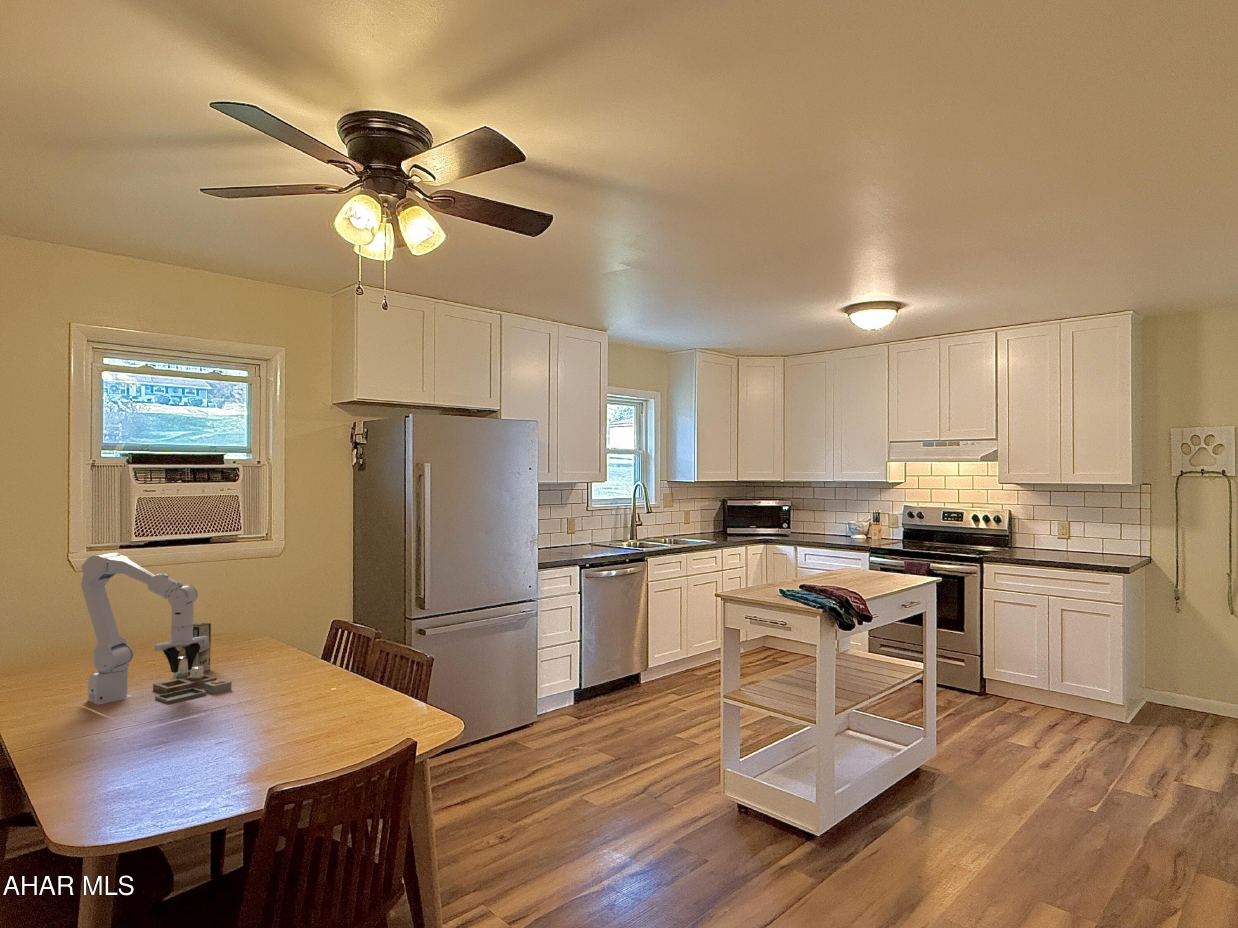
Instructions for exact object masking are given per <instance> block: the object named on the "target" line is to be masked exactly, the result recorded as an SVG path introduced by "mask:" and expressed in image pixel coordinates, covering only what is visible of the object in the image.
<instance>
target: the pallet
mask: <svg viewBox="0 0 1238 928" xmlns="http://www.w3.org/2000/svg"><path fill="white" fill-rule="evenodd" d="M217 678H218V677H215V676H212V675H208V674H205V673H203V679H202V680H198V681H193V682H191V681H190V675H188V677H187V678H184V679H175V678H174V679H169V680H166V681H161V682H160V681H159V682H155V683H153V684H152V692H157V693H159V694H161V695H162V694H166V693H171V692H175V691H180V690H184V689H189V688H196V689H200V688H202V689H203V688H204V683H207V682H211V681H216V680H218V679H217Z"/></svg>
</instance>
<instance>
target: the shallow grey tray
mask: <svg viewBox="0 0 1238 928" xmlns="http://www.w3.org/2000/svg"><path fill="white" fill-rule="evenodd" d="M204 696H207V692H205V691H204V690H203V689H202V690H201V689H200V688H198V689H196V688H189V689H184V690H180V691H175V692H171V693H166V694H162V693H161V694H158V695H155V696H154V699H155V701H158V702H161V703H164V704H167V705H171V704H175V703H180V702H183V701H188V700H192V699H196V698H200V697H204Z"/></svg>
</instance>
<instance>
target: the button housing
mask: <svg viewBox="0 0 1238 928" xmlns="http://www.w3.org/2000/svg"><path fill="white" fill-rule="evenodd" d="M216 681H222V683H220V684H214V682H215V681H211V682H207V683H204V687H203V691H205V692H206V693H208V694H211V695H217V694H220V693H221V694H222V693H224V692H228V691H232V686H233V685H232V681H230V680H226V679H224V678H223V679H222V678H221V679H217V680H216Z"/></svg>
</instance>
